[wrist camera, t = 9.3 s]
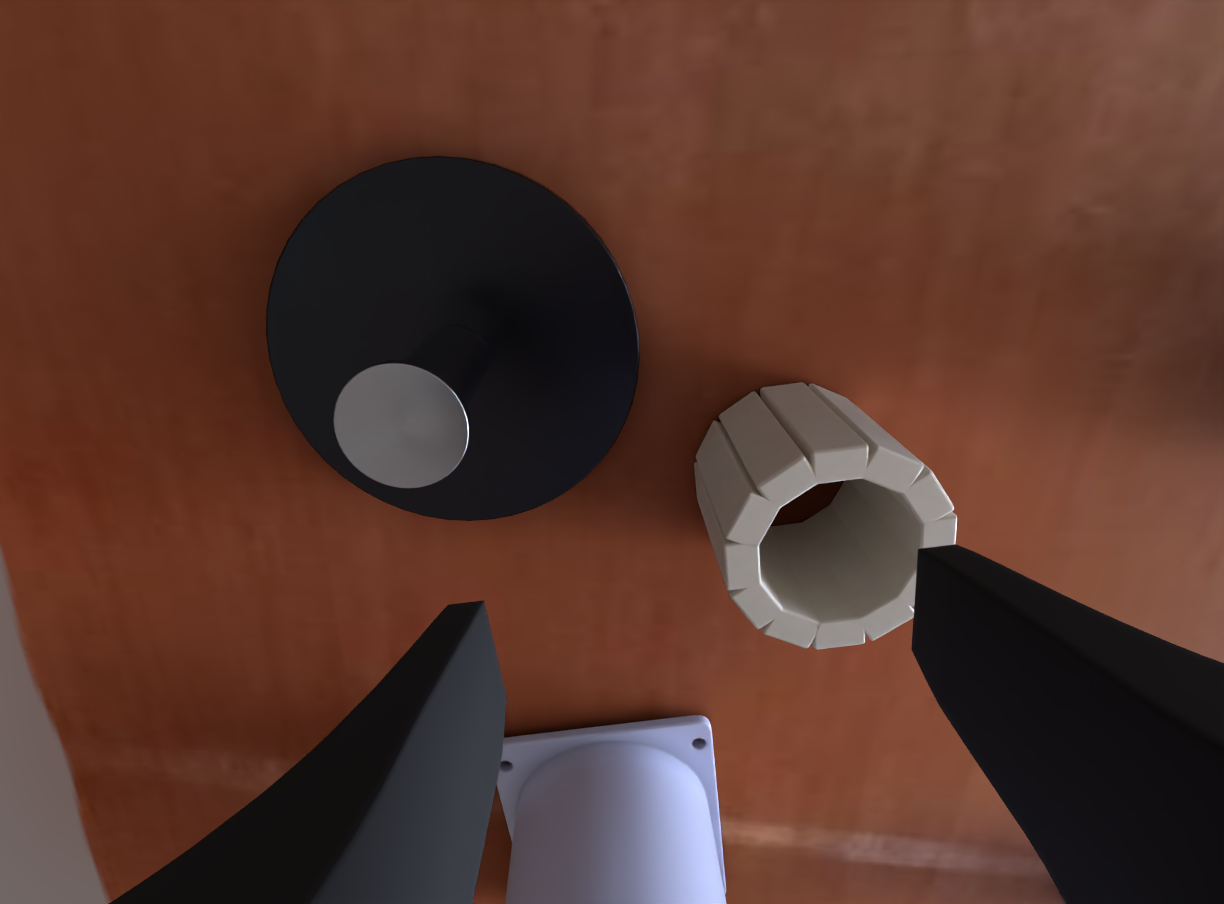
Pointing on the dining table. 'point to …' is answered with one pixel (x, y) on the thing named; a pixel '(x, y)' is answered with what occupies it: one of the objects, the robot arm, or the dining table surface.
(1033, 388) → the dining table surface
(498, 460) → the stand
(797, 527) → the cream faceted cylinder
